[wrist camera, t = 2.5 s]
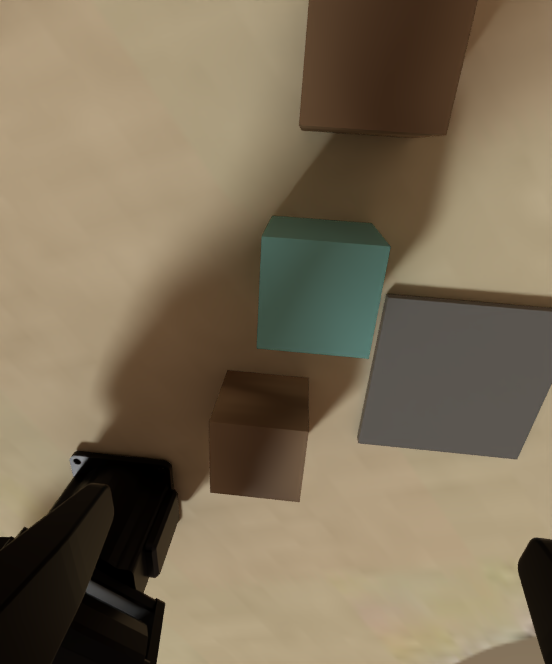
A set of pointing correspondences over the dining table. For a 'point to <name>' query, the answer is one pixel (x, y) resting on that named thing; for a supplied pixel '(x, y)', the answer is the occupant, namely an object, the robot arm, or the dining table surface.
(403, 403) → the slate tile
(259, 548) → the dining table surface
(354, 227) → the teal cube
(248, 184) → the dining table surface
